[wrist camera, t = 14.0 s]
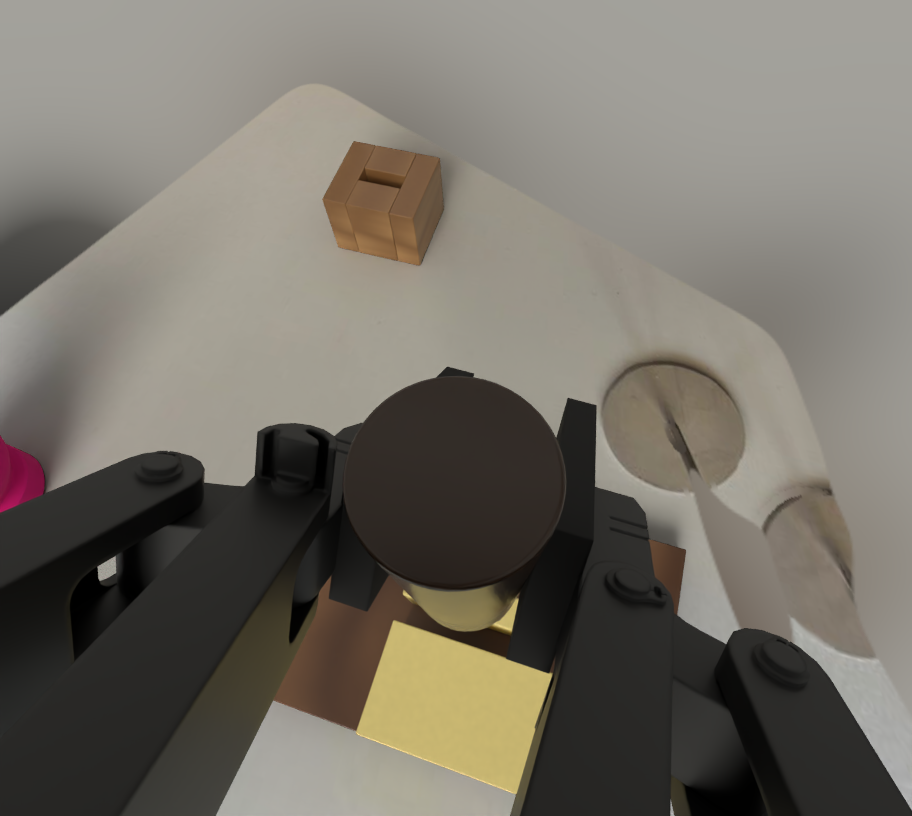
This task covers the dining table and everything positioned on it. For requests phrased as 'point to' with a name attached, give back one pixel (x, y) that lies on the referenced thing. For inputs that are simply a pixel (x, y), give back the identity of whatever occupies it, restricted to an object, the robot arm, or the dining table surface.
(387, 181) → the knife stand
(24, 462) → the pepper mill
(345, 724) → the butter board
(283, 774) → the dining table surface
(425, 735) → the butter block
